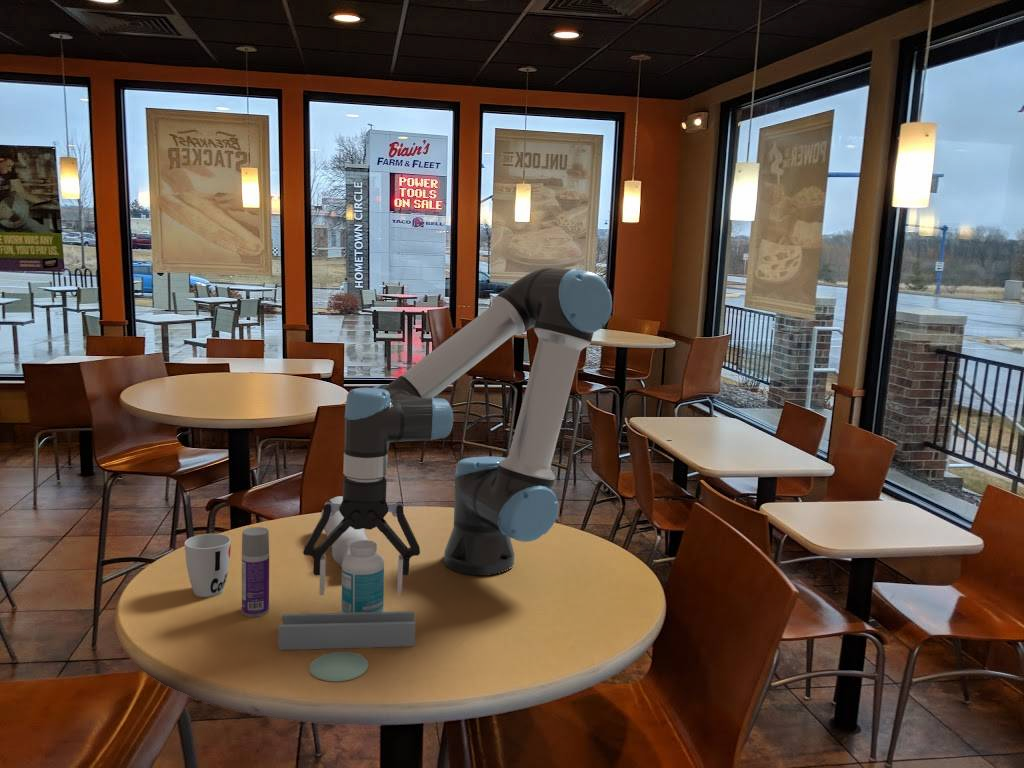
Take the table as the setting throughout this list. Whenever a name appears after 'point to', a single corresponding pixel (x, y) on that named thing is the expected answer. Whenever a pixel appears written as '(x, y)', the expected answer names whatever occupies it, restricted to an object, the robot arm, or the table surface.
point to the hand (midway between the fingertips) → (361, 592)
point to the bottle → (349, 536)
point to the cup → (208, 563)
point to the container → (255, 571)
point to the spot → (338, 666)
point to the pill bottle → (363, 579)
